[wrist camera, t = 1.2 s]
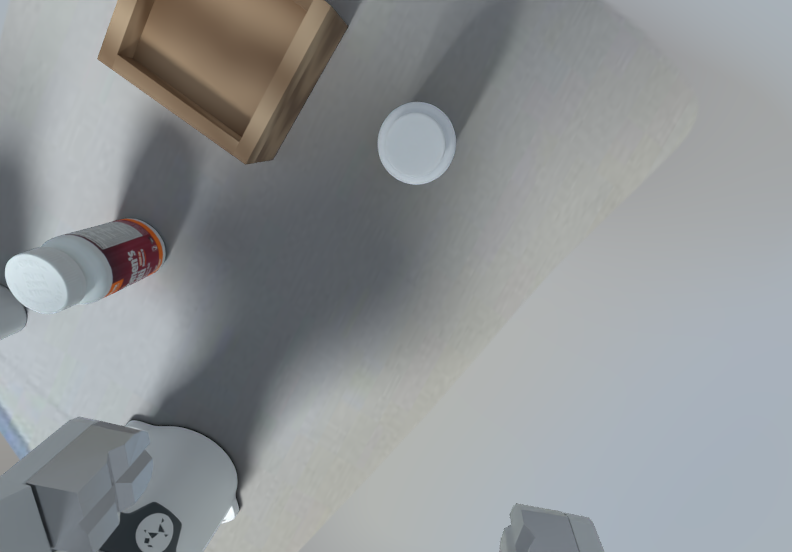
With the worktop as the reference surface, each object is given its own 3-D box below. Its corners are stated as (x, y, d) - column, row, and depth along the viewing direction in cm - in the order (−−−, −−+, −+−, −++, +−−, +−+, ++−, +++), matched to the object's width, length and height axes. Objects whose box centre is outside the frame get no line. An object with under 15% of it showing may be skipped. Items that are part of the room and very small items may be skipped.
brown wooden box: (272, 159, 36) (245, 164, 31) (148, 69, 35) (97, 58, 29) (348, 26, 32) (331, 5, 27) (210, -84, 30) (163, -129, 25)
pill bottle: (164, 281, 42) (72, 332, 31) (109, 261, 42) (-2, 305, 31) (171, 229, 40) (76, 264, 29) (113, 207, 39) (-4, 235, 29)
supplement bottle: (439, 96, 33) (440, 82, 24) (460, 159, 35) (470, 170, 25) (379, 123, 34) (358, 120, 25) (403, 183, 36) (391, 202, 26)
